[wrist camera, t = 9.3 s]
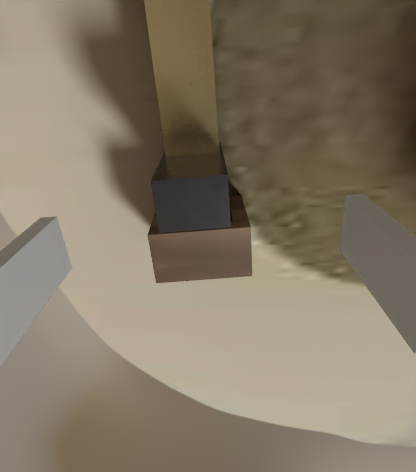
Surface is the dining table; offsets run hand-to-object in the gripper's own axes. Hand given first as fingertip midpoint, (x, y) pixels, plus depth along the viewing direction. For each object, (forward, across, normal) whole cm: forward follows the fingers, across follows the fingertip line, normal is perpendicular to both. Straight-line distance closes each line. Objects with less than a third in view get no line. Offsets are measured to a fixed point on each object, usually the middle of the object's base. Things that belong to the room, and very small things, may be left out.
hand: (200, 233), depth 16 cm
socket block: (+13, -1, -5) cm, 14 cm away
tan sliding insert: (+12, -1, +4) cm, 13 cm away
